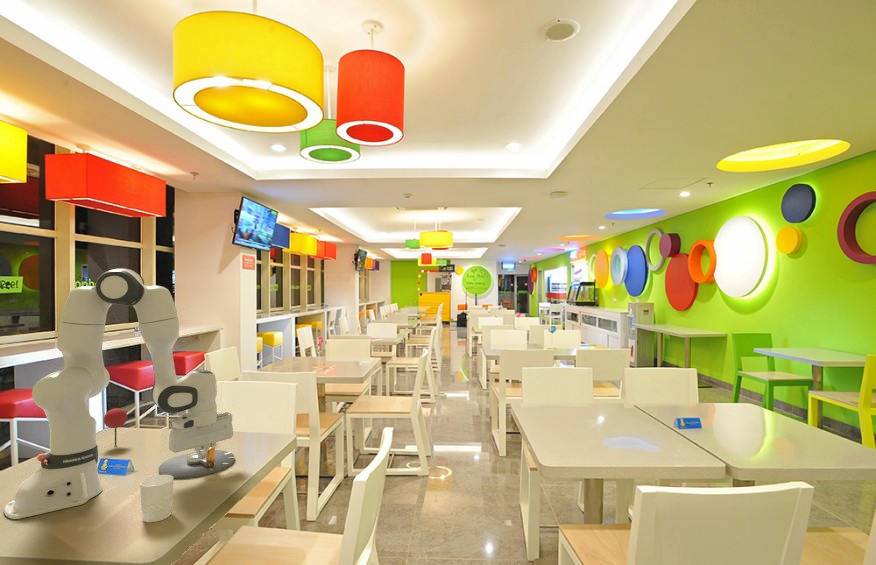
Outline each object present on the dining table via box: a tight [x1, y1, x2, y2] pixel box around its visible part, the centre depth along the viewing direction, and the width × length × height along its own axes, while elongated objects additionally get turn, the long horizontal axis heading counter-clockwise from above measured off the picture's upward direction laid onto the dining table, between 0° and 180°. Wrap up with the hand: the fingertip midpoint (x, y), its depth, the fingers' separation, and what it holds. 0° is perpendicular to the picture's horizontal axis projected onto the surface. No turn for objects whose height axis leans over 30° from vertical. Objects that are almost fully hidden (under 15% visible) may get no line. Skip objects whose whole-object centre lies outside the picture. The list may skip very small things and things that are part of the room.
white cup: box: [139, 474, 174, 523], centre depth 129 cm, size 8×8×10 cm
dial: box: [187, 446, 216, 467], centre depth 164 cm, size 14×7×6 cm, turn 53°
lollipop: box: [103, 407, 128, 447], centre depth 188 cm, size 8×8×15 cm
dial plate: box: [158, 449, 235, 480], centre depth 166 cm, size 24×24×1 cm
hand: (202, 458), depth 159 cm, fingers closed
